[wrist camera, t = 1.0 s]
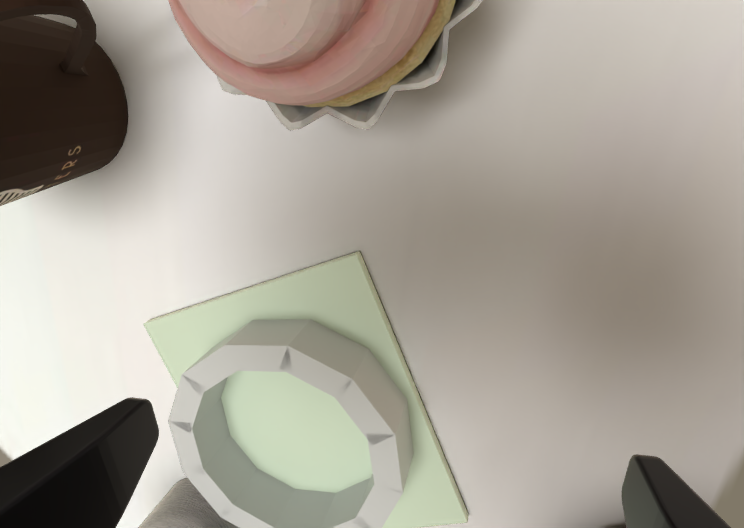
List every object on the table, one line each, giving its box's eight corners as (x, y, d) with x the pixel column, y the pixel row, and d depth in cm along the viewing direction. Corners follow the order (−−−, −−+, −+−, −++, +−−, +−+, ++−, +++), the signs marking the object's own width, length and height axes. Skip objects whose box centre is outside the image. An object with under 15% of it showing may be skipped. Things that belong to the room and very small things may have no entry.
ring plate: (468, 514, 24) (462, 568, 22) (264, 536, 29) (238, 584, 26) (359, 250, 21) (337, 275, 19) (149, 319, 26) (106, 347, 23)
